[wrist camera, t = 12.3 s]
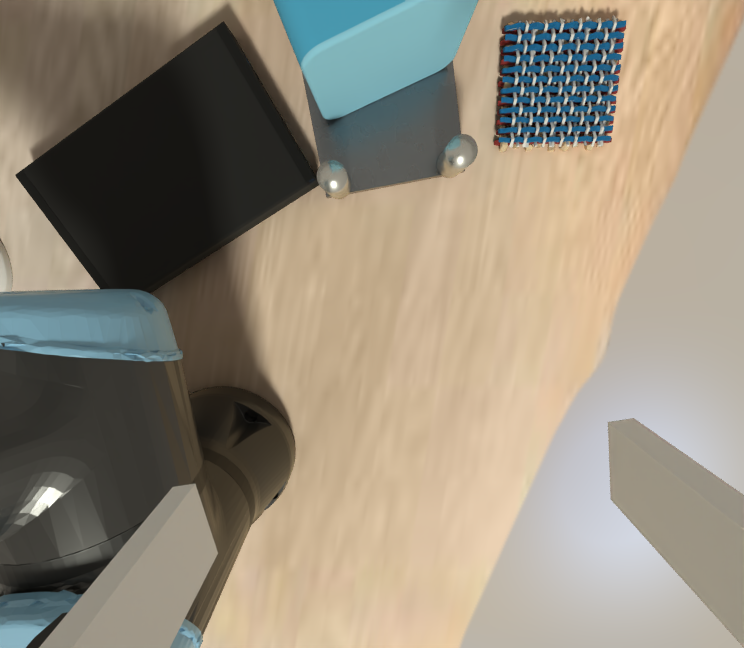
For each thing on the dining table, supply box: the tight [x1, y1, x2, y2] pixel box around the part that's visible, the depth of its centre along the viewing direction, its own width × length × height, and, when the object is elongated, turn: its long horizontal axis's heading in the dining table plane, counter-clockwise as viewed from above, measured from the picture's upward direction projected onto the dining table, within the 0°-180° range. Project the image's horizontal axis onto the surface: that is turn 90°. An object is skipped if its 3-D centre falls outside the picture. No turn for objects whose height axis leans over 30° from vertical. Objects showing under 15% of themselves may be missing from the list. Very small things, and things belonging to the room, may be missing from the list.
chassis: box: [302, 60, 478, 199], centre depth 30 cm, size 13×20×6 cm, turn 10°
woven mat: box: [494, 15, 626, 152], centre depth 32 cm, size 10×11×2 cm
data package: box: [273, 0, 478, 120], centre depth 26 cm, size 12×4×12 cm, turn 113°
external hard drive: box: [16, 22, 319, 293], centre depth 34 cm, size 14×23×3 cm, turn 120°
